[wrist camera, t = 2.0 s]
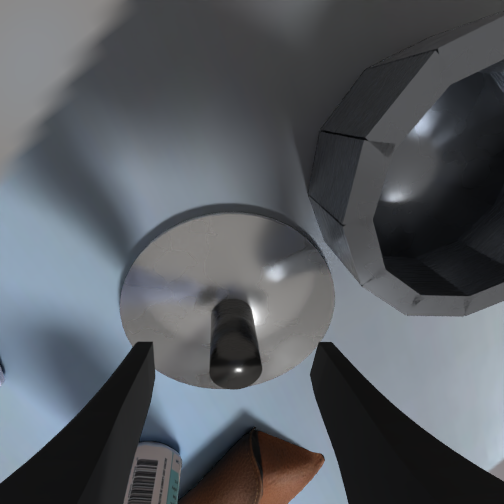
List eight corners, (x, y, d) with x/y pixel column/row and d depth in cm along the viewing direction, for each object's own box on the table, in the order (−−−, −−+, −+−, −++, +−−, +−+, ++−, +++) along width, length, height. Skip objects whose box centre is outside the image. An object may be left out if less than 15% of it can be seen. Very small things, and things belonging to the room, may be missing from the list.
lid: (132, 379, 17) (108, 457, 13) (114, 200, 13) (66, 240, 9) (308, 376, 19) (332, 445, 15) (352, 217, 14) (403, 257, 10)
